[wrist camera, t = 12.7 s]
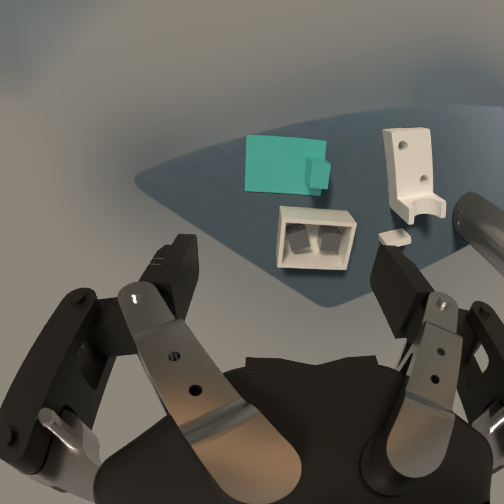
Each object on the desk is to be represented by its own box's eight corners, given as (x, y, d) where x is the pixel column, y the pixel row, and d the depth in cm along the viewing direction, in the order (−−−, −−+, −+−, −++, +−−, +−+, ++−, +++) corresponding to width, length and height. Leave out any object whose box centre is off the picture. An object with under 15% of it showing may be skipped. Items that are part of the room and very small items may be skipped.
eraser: (378, 233, 44) (386, 243, 40) (401, 227, 43) (411, 236, 40) (378, 239, 44) (386, 250, 41) (402, 233, 43) (411, 243, 40)
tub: (347, 210, 42) (356, 223, 37) (339, 254, 46) (346, 270, 41) (279, 205, 42) (282, 218, 38) (276, 251, 46) (277, 267, 42)
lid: (325, 140, 37) (335, 145, 32) (319, 194, 41) (327, 207, 36) (247, 134, 37) (244, 138, 32) (245, 190, 41) (242, 201, 36)
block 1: (303, 221, 42) (306, 229, 40) (307, 237, 44) (310, 246, 41) (285, 226, 43) (286, 234, 40) (290, 242, 44) (291, 251, 42)
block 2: (337, 225, 43) (341, 234, 40) (334, 242, 44) (338, 251, 41) (319, 224, 43) (323, 232, 40) (316, 241, 44) (320, 250, 41)
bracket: (422, 200, 40) (445, 217, 34) (388, 206, 41) (408, 224, 35) (418, 126, 34) (444, 132, 27) (381, 129, 35) (404, 135, 29)
